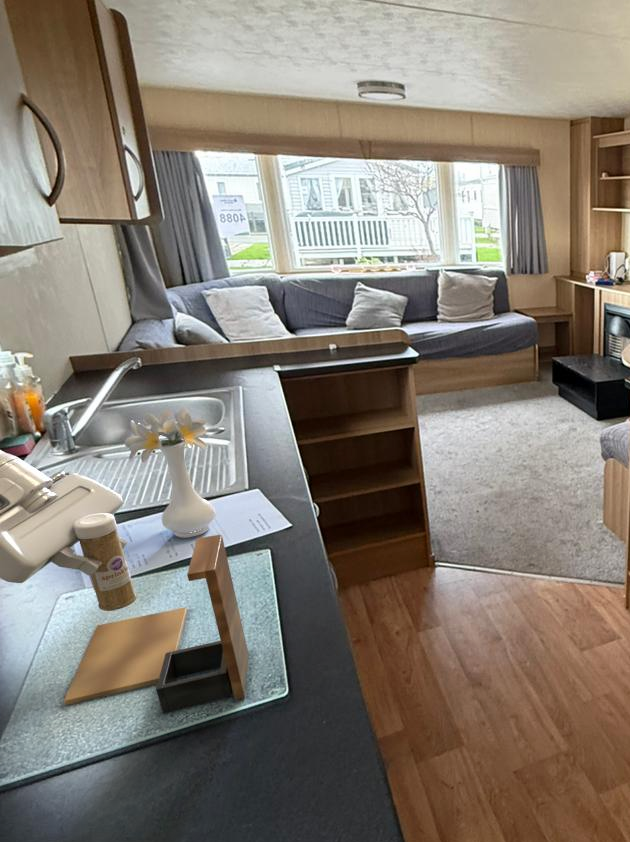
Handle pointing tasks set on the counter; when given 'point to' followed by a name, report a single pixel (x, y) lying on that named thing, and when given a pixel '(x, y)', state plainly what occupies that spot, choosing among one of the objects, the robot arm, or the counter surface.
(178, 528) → the flower vase
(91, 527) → the sprinkles bottle
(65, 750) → the counter surface
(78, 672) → the cork mat
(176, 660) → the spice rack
